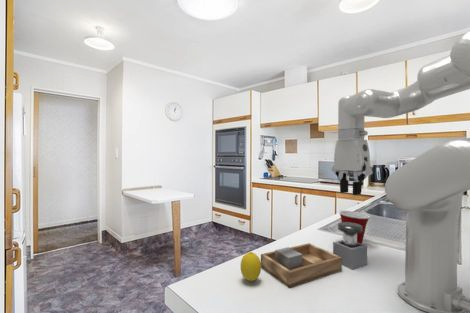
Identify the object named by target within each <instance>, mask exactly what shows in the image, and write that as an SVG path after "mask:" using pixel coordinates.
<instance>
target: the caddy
mask: <svg viewBox="0 0 470 313" xmlns="http://www.w3.org/2000/svg"><path fill="white" fill-rule="evenodd" d="M260 262H261V270H264V271H265V272H267V273H268V274H269V275H271V276H272V277H273V278H274V279H276V280H277V281H279V283H281V284H282V285H285V286H286V287H287V288H288V289H292V288H294V287H297V286H300V285H303V284H306V283H307V284H308V283H310V282H311V281H312V282H313V281H315V280H320V279H322V278H324V277H325V278H326V277H327V276H330V275H333V274H337V273H340V272H342V270H343V268H342V267H343V265H342V257H340V256H337V255H335V254H333V252H330V251H328V250H325V249H324V248H321V247H319V246H316V245H314V244H312V243H309V242H308V243H305V244H304V243H303V244H300V245H296V246H291V247H289V246H287V247H283V248H279V249H275V250H273V251H268V252H265V253H261V254H260Z"/></svg>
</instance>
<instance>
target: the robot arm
mask: <svg viewBox="0 0 470 313" xmlns="http://www.w3.org/2000/svg"><path fill="white" fill-rule="evenodd" d="M416 78H417V80H416V81H415V82H413V83H412V84H410V85H408V86H406V87H403V88H400V89H398V90H395V91H391V92H389V91H385V90H380V89H373V88H372V89H371V88H367V89H363V90H361V91H359V92H357V93H354V94H353V95H346V96H343V97H341V98H340V99H339V100H338V104H337V105H338V106H337V107H338V109H337V110H338V112H337V113H338V115H337V116H338V117H337V118H338V119H337V122H338V123H337V140H336V142H335V148H334V156H333V165H332V168H331V171H332V172H333V173H334V174H335V175H336V177H337V178H338V181H339V193H341V194H344V193H345V194H346V193H349V180H348V174H349V172H352V174H353V179H354V181H352V195H353V196H359V195H362V191H363V190H362V187H363V186H362V183H363V182H364V181H365V179H366V178H368V177H369V176H370V175H371V176H372V174H373V173H374V172H373V169H372V168H371V157H370V156H371V155H370V148H369V143H368V139H365V137H366V136H368V134H369V133H368V130H366V129H365V117H370V118H382V119H390V118H396V117H399V116H401V115H405V114H409V113H412V112H416V111H418V110H420V109H422V108H424V107H426V106H428V105H430V104H432V103H433V102H435V101H437V100H439V99H442V98H445V97H449V96H452V95H455V94H457V93H462V92H464V91H468V90H470V30H468V31H467V32H465V33H464V34H462V35H461V36H460V37H459V38H458V39H457V40H456V42H454V44H453V46H452V48H451V50H450V54H448V55H446V56H443V57H442V58H439V59H437V60H433V61H431V62H429V63H427V64H424V65H423V66H421V68H420V69H419V70H418V72H417V77H416ZM385 181H386V182H385V184H384V193H385V196H386V198H387V199H388V201H389V203H391V204H393V205H394V206H395V207H397V208H398V209H401V210H404V211H407V214H406V220H405V261H404V262H405V263H404V267H405V268H404V271H405V272H404V274H405V275H404V282H401V283H399V284H398V285H397V294H398V295H399V296H400V297H401V299H402V300H403V301H405V302H406V303H408V304H409V305H411V306H413V307H415V308H416V309H419V310H421V311H424V312H426V313H467V312H468V313H470V298H468V297H466V296H465V295H464V294H463V288H462V287H460V286H458V241H459V219H460V213H461V206H462V203H463V202H462V201H463V195H464V194H463V193H465V192H467V191H470V137H459V138H454V139H450V140H446V141H444V142H442V143H439V144H437V145H435V146H433V147H432V148H429V149H428V150H427V151H425V152H424V153H422V154H420V155H418V156H416V157H415V158H413V159H411V160H410V161H407V162H406V163H405V164H403V165H401V166H400V167H398V168H397V169H395V170H394V171H393V172H391V173H390V175H388V177H387V179H386V180H385Z"/></svg>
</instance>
